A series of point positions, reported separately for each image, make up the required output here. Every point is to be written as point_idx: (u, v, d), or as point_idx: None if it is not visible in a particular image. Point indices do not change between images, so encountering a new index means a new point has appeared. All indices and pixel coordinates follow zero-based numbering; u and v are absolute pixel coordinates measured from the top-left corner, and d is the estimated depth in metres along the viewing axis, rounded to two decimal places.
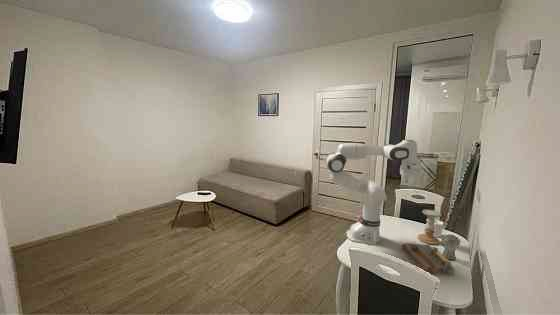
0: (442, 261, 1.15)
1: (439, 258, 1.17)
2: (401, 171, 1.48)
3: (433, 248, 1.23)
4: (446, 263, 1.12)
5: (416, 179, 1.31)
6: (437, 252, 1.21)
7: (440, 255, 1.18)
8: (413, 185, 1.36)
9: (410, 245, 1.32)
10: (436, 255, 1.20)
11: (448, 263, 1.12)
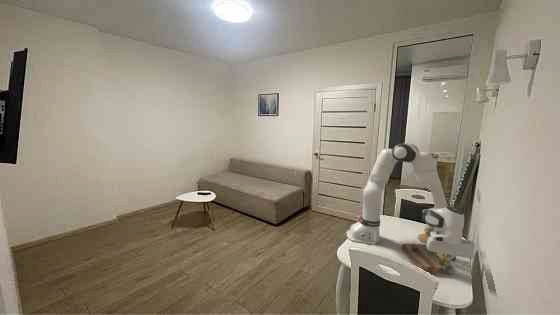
0: (441, 261, 1.15)
1: (439, 258, 1.17)
2: None
3: None
4: (445, 263, 1.12)
5: (426, 245, 1.19)
6: None
7: (439, 255, 1.18)
8: None
9: (410, 245, 1.32)
10: (436, 255, 1.20)
11: (447, 263, 1.12)
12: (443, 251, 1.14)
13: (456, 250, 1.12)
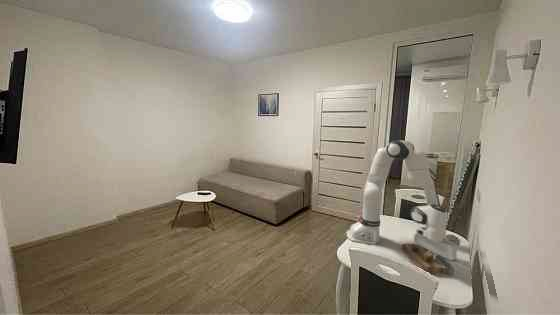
0: None
1: None
2: None
3: None
4: (422, 256, 1.18)
5: None
6: None
7: None
8: None
9: (410, 245, 1.32)
10: None
11: (424, 256, 1.18)
12: (426, 246, 1.19)
13: (437, 247, 1.13)
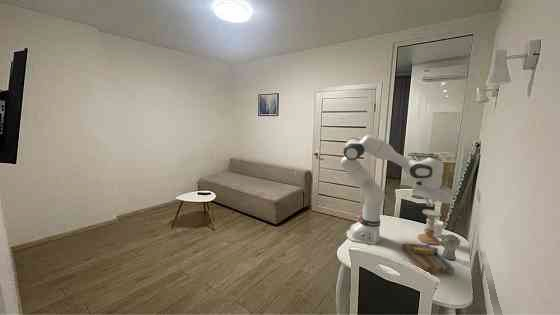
0: None
1: None
2: None
3: (434, 247, 1.24)
4: (412, 248, 1.25)
5: None
6: (429, 249, 1.24)
7: (425, 249, 1.24)
8: None
9: (410, 245, 1.32)
10: None
11: (413, 249, 1.24)
12: (424, 195, 1.31)
13: (435, 194, 1.26)
